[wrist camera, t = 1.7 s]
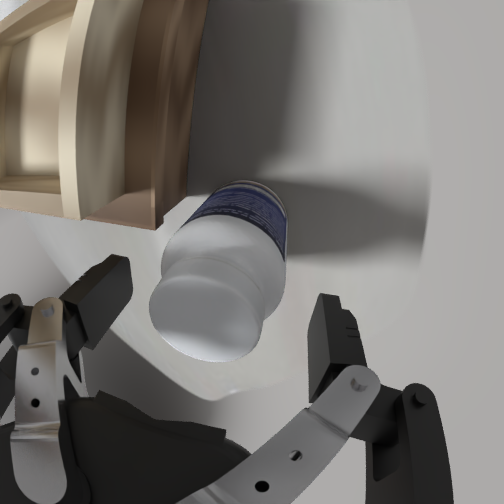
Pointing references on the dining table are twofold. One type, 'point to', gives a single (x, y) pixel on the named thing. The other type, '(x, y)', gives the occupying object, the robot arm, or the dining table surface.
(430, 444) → the robot arm
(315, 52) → the dining table surface
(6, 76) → the top crate
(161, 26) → the box
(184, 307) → the pill bottle
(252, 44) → the dining table surface
